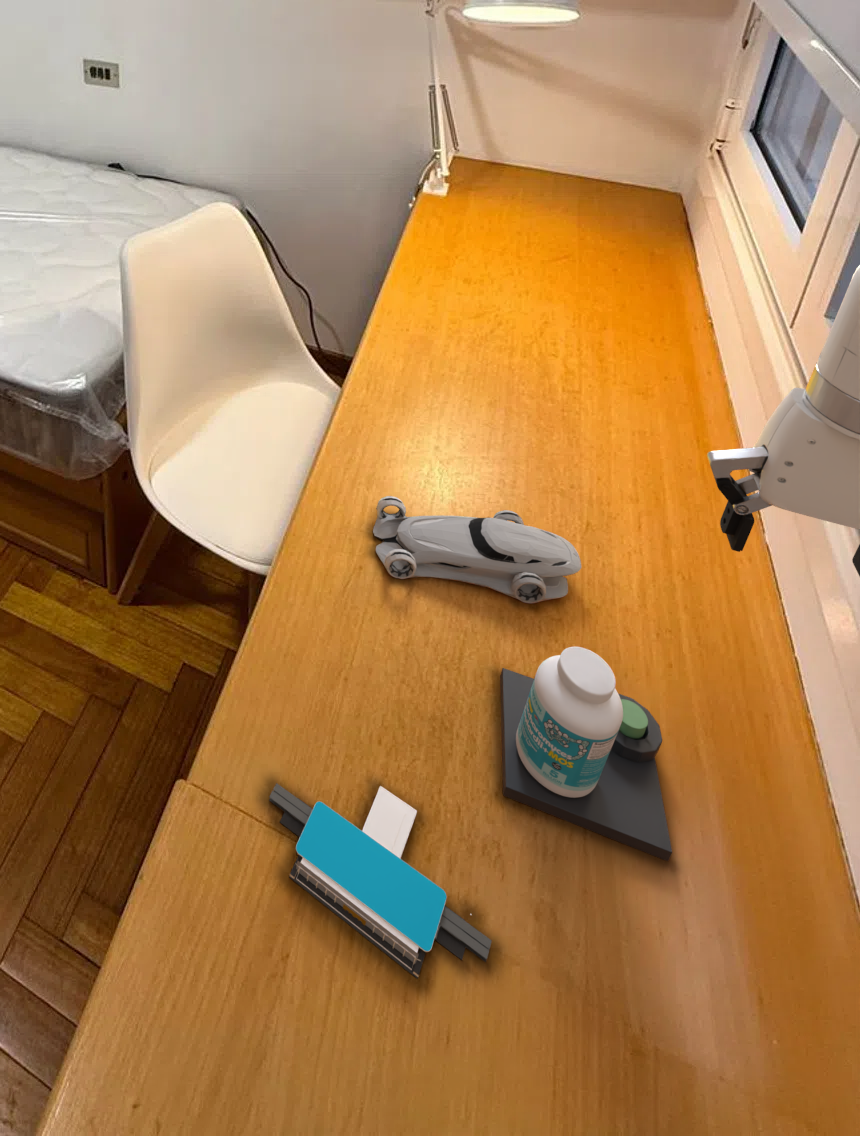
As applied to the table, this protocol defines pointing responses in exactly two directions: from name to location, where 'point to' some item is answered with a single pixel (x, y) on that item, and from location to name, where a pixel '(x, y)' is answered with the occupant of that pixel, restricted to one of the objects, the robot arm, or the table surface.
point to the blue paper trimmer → (374, 879)
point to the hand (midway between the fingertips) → (796, 557)
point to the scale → (621, 795)
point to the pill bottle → (570, 722)
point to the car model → (476, 551)
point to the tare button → (633, 720)
